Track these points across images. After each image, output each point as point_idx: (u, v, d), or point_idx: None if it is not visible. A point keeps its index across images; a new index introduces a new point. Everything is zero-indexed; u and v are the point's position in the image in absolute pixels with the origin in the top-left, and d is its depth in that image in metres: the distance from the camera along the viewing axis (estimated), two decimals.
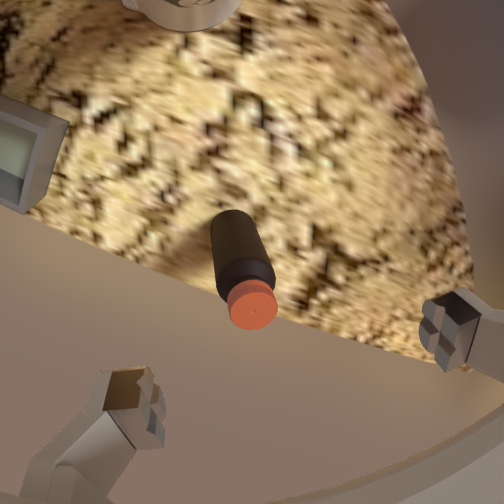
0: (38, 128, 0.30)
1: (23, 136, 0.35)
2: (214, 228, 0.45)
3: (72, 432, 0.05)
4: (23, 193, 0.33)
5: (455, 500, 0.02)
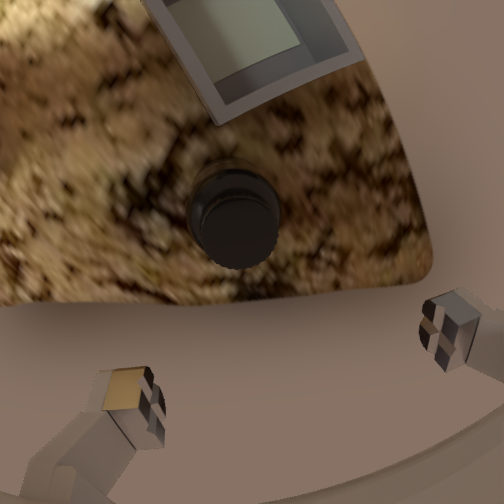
0: None
1: (208, 17, 0.22)
2: None
3: (72, 432, 0.05)
4: None
5: (455, 500, 0.02)
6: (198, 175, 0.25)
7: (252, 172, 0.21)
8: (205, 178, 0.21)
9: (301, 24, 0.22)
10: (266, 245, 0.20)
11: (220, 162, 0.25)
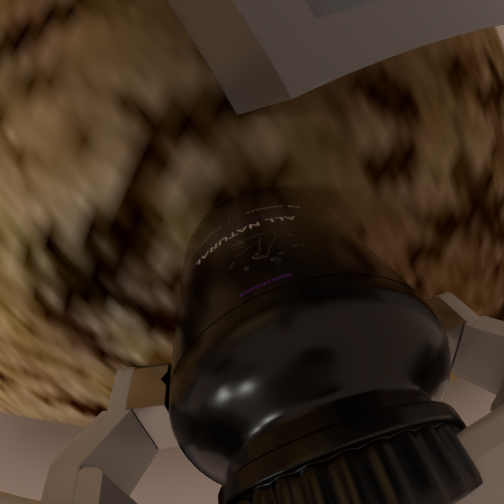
0: None
1: None
2: None
3: (95, 432, 0.05)
4: None
5: None
6: (199, 251, 0.09)
7: (405, 296, 0.05)
8: (229, 326, 0.05)
9: None
10: None
11: (261, 218, 0.09)
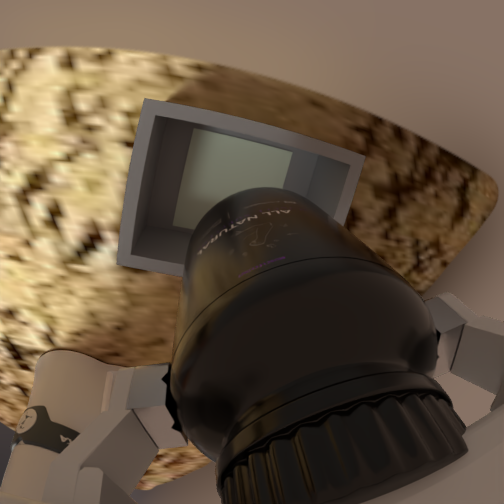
0: (131, 263, 0.23)
1: (210, 202, 0.29)
2: None
3: (96, 432, 0.05)
4: (143, 142, 0.19)
5: (455, 500, 0.02)
6: (200, 243, 0.10)
7: (390, 278, 0.06)
8: (228, 302, 0.06)
9: None
10: None
11: (259, 212, 0.09)
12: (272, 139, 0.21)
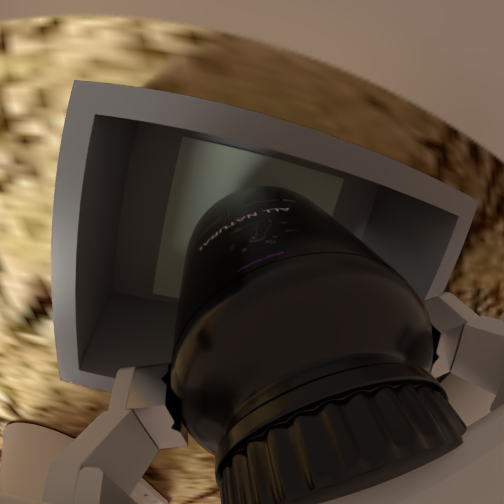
0: (83, 381, 0.12)
1: None
2: None
3: (96, 432, 0.05)
4: (73, 174, 0.09)
5: (455, 500, 0.02)
6: (201, 240, 0.10)
7: (386, 273, 0.06)
8: (227, 295, 0.06)
9: None
10: None
11: (259, 210, 0.10)
12: (342, 167, 0.10)
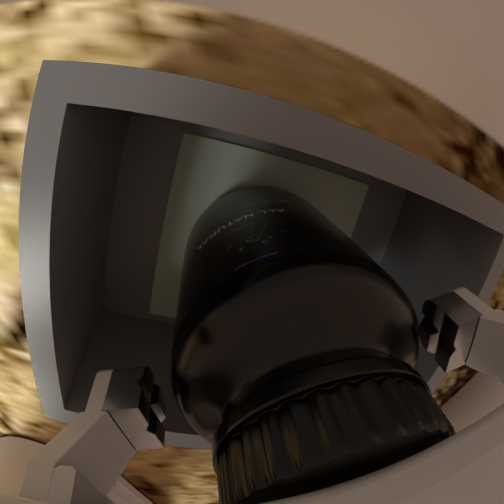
0: (70, 420, 0.09)
1: None
2: None
3: (72, 432, 0.05)
4: (41, 182, 0.06)
5: (455, 500, 0.02)
6: (200, 239, 0.11)
7: (373, 273, 0.07)
8: (225, 292, 0.07)
9: None
10: None
11: (255, 210, 0.10)
12: (387, 177, 0.08)
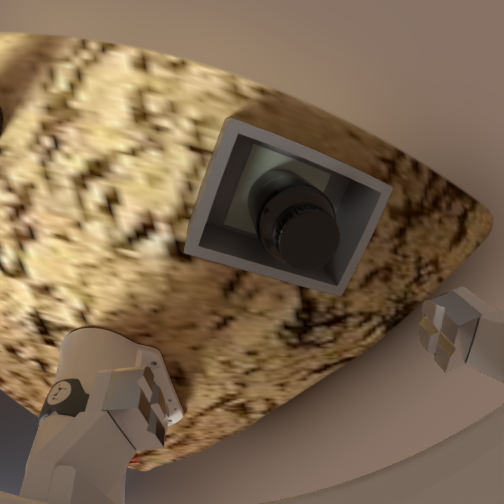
0: (197, 253, 0.28)
1: None
2: None
3: (72, 432, 0.05)
4: (225, 154, 0.25)
5: (455, 500, 0.02)
6: (262, 184, 0.29)
7: (318, 190, 0.25)
8: (278, 190, 0.25)
9: None
10: (328, 252, 0.23)
11: (283, 175, 0.29)
12: (327, 166, 0.26)
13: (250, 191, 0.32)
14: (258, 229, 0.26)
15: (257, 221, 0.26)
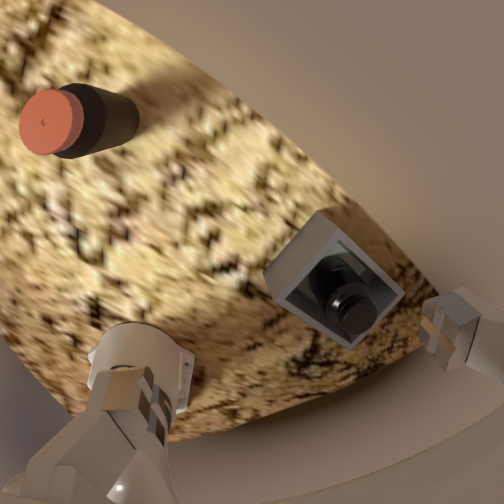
0: (281, 303, 0.40)
1: None
2: (127, 137, 0.34)
3: (72, 432, 0.05)
4: (326, 249, 0.38)
5: (455, 500, 0.02)
6: (331, 268, 0.43)
7: None
8: (348, 281, 0.39)
9: None
10: (366, 327, 0.37)
11: (346, 267, 0.43)
12: (376, 272, 0.41)
13: (316, 267, 0.45)
14: (328, 301, 0.39)
15: (329, 296, 0.39)
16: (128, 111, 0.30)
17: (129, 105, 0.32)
